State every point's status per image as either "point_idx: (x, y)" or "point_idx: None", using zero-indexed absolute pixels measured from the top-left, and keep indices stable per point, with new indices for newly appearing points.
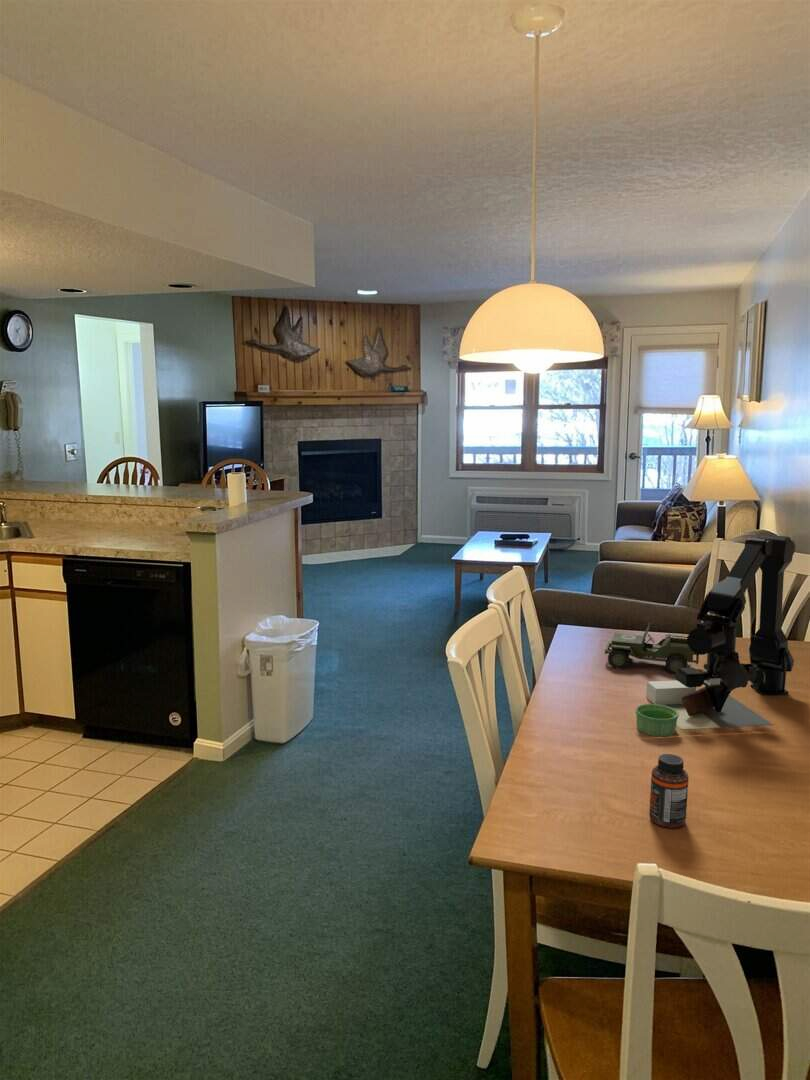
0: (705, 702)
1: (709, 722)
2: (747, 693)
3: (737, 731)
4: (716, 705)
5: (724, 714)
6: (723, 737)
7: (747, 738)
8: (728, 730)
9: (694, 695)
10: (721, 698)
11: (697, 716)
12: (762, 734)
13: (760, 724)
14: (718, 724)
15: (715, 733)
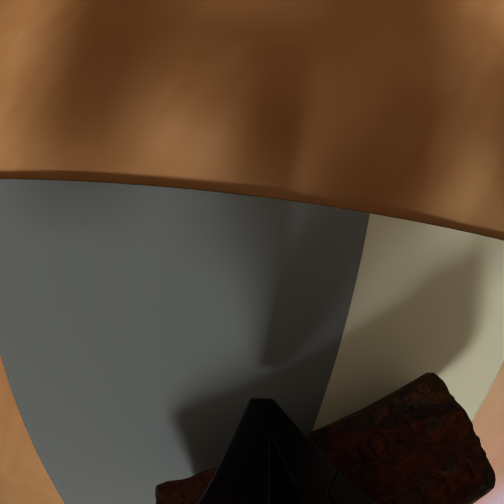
0: (379, 461)
1: (380, 310)
2: (6, 481)
3: (277, 127)
4: (302, 436)
5: (183, 402)
6: (433, 82)
7: (288, 9)
8: (334, 163)
9: (494, 475)
10: (269, 487)
11: (374, 398)
12: (127, 45)
13: (37, 197)
14: (345, 269)
15: (444, 151)
